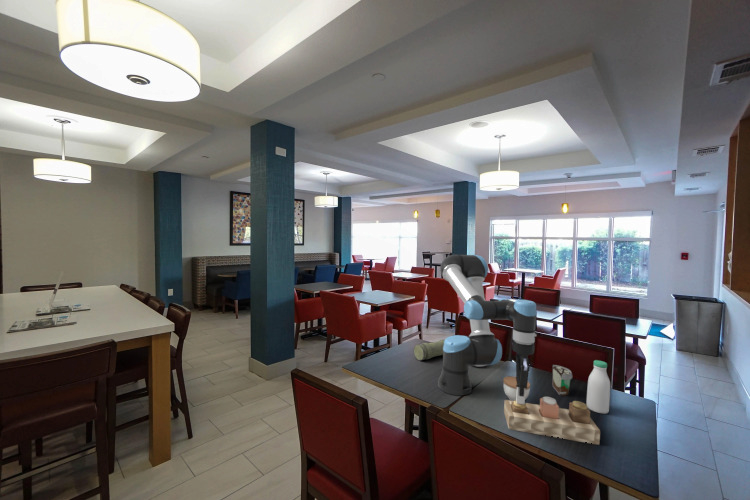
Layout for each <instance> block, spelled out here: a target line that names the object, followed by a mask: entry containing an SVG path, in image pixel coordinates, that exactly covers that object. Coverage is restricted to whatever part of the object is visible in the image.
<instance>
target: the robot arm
mask: <svg viewBox="0 0 750 500" xmlns="http://www.w3.org/2000/svg"><path fill="white" fill-rule="evenodd" d="M439 270H440V274H441V276H442V278H443V279H444V281H447V282H449V285H451V287H452V289H453V290H454V291H455V292H456V294H457V296H459V298H460V300H461V301H462V302H463V304H464V305H463V312H464V316H465V317H466V318H467V319H468V320H469V324H470V325H469V326H470V330H471V332H470V334H469V335H468V336H467V335H460V334H457V335H451V336H447V337H446V338H444V339H445V341H444V347H443V355H442V370H441V373H440V374H439V377H438V379H437V380H438V381H437V386H438V389H440V390H441V391H442V392H444V393H447V394H449V395H453V396H465V395H469V394H470V393H472V390H473V389H472V388H473V386H472V382H471V378H470V375H469V374H470V373H469V368H470V366H473V367H479V366H478V365H485V366H487V367H488V366H493V365H497V364H499V363H500V361H501V359H502V355H503V346H502V344H501V341H500V340H499V339H497V338H495V334H494V333H493V332H491V330H490V329H491V328H490V323H489V321H491V320H494V321H495V320H497V321H498V320H501V321H504V320H508V321H510V322H512V323H513V327H512V342H511V343H512V344H511V345H512V346H511V349H512V351H513V352H515V353H516V354H515V359H516V360H515V366H516V367H515V377H516V380H517V384H518V385H516V387H517V392H516V403H518V404H525V403H526V401H525V400H526V399H525V388H526V389H527V382H529V381H528V380H529V372H530V369H531V367H530V365H529V364H530V358H528V357H529V356H531V355H533V354H534V353H535V339H536V338H535V337H537V333H536V326H537V325H536V323H537V322H536V321H537V313H538V312H537V303H536V302H534V301H532V300H528V299H516V300H514V301H512V300H511V299H505V298H500V299H498V300H486V299H485V297H486V296H485V293H484V291H485V290H484V286H483V282H484V281H485V279H486V277H487V275H488V271H489V267H488V262H487V261H486V259H485V258H484V257H483V256H481V255H477V254H450V255H448V256H446V257H445V258H444V259H443V260H442V262H441V264H440V268H439Z"/></svg>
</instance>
